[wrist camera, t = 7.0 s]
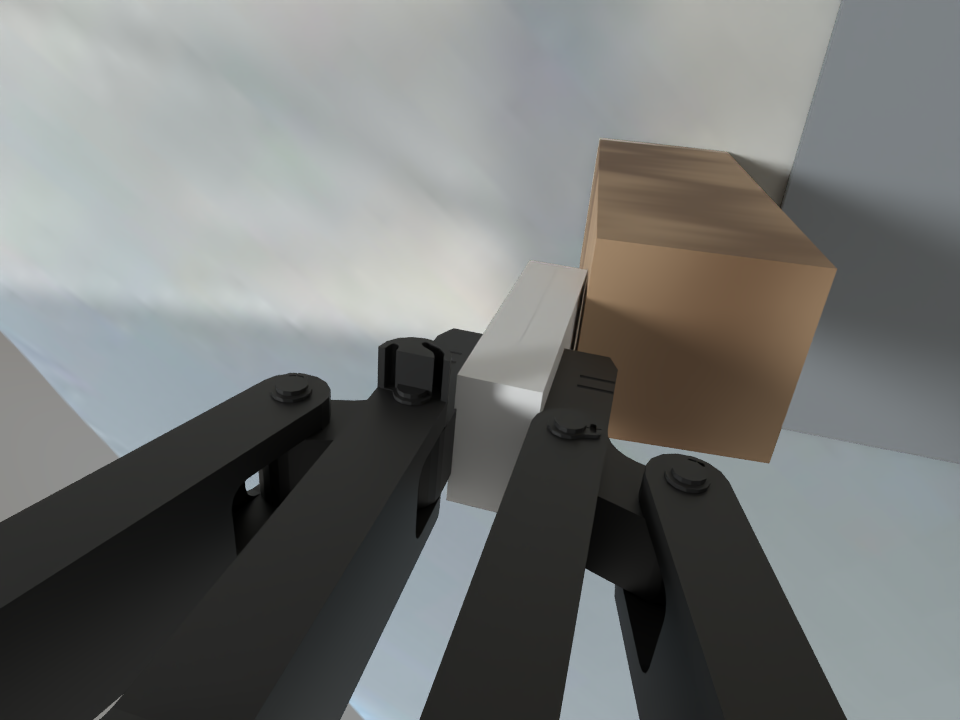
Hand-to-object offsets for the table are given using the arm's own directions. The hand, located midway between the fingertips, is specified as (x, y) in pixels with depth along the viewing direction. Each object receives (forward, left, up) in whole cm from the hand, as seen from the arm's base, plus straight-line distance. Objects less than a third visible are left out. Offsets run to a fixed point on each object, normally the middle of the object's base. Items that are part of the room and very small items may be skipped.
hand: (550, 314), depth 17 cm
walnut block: (+2, 0, -12) cm, 13 cm away
